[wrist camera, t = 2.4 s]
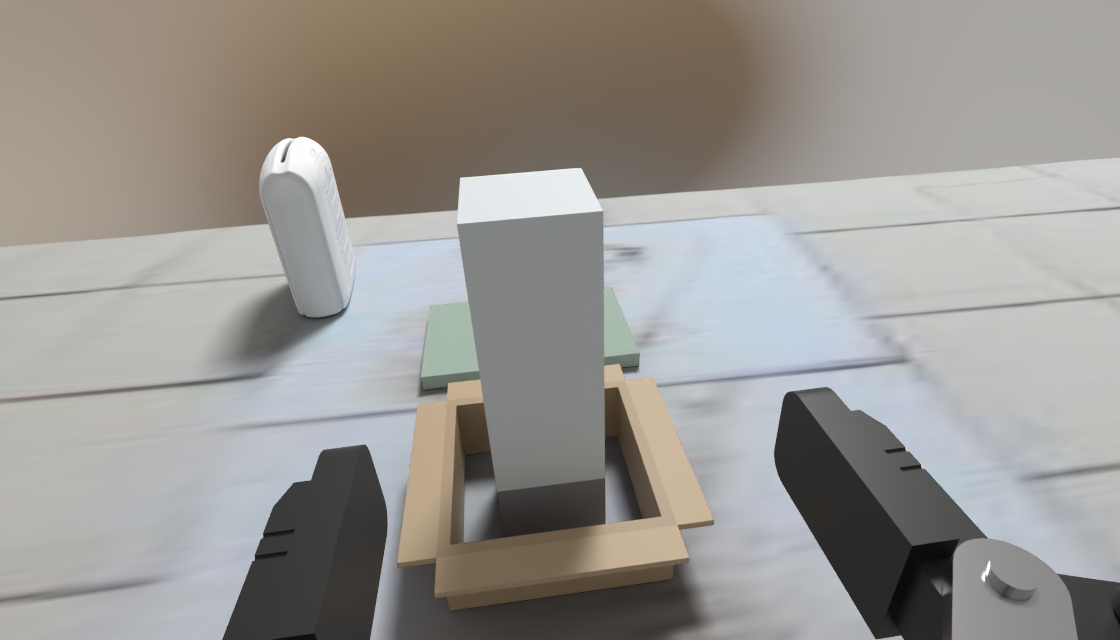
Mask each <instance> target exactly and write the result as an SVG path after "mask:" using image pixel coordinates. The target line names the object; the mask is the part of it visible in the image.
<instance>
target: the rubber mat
mask: <svg viewBox="0 0 1120 640" xmlns="http://www.w3.org/2000/svg"><path fill="white" fill-rule="evenodd" d="M639 357H640V353H639V350H638V348H637V346H636V343H635V341H634V339H633V336H632V334H631V331H630V329H629V327H628V324H627V322H626V320H625V317H624V315H623V312H622V310H621V308H620V305H619V303H618V301H617V298H616V296H615V294H614V291H613V289H612V287H611V288H604V366H605V365H614V364H620V367H621V368H622V367H631V366H639ZM471 380H480V374H479V368H478V361H477V354H476V348H475V341H474V334H473V328H472V321H471V314H470V307H469V302H463V303H453V304H443V305H433V306H430V311H429V318H428V326H427V333H426V341H425V348H424V356H423V363H422V370H421V381H422V386H423V390H426V389H435V388H444V387H448V383H453V382H462V381H471Z"/></svg>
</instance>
